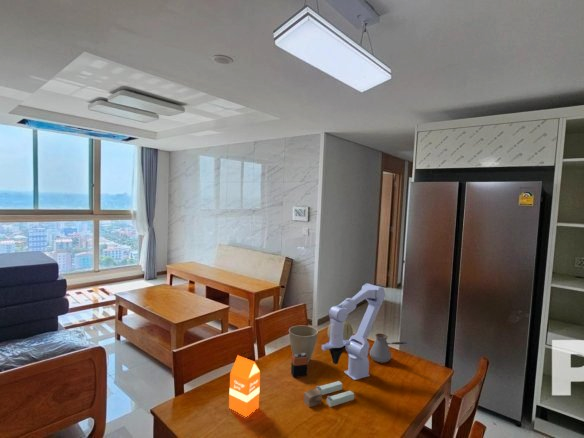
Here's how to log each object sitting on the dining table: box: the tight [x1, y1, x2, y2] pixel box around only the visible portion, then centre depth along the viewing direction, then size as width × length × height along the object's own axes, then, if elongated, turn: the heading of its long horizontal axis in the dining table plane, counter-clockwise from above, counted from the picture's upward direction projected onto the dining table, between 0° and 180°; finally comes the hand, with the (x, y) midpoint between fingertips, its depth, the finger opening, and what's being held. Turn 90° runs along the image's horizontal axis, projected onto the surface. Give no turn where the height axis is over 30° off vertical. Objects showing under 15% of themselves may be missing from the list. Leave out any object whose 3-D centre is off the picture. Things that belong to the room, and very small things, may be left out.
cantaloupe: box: [327, 320, 354, 341], centre depth 184 cm, size 15×15×15 cm
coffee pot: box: [368, 333, 409, 364], centre depth 164 cm, size 21×12×15 cm, turn 34°
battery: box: [290, 353, 309, 378], centre depth 149 cm, size 4×7×10 cm, turn 108°
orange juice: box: [228, 354, 261, 418], centre depth 122 cm, size 8×9×20 cm
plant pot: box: [288, 324, 319, 364], centre depth 162 cm, size 15×15×16 cm
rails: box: [315, 380, 355, 408], centre depth 133 cm, size 12×10×3 cm
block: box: [303, 388, 323, 408], centre depth 128 cm, size 6×4×4 cm, turn 120°
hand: (335, 363), depth 143 cm, fingers closed
